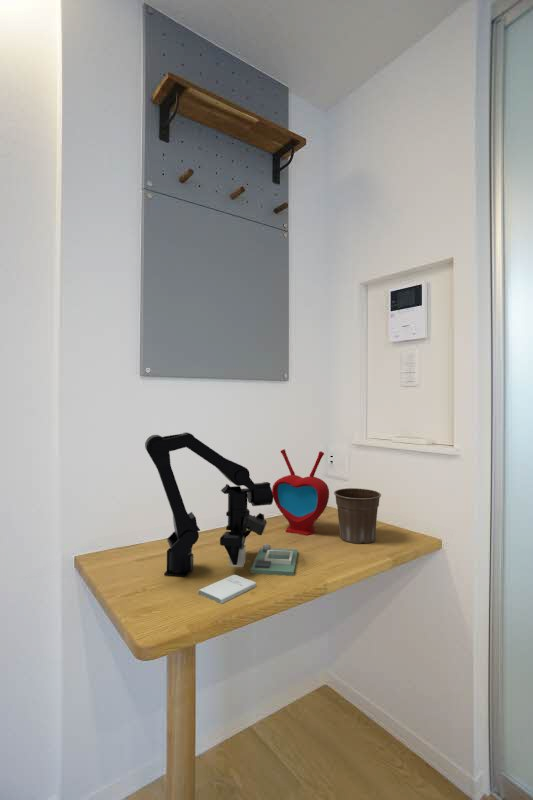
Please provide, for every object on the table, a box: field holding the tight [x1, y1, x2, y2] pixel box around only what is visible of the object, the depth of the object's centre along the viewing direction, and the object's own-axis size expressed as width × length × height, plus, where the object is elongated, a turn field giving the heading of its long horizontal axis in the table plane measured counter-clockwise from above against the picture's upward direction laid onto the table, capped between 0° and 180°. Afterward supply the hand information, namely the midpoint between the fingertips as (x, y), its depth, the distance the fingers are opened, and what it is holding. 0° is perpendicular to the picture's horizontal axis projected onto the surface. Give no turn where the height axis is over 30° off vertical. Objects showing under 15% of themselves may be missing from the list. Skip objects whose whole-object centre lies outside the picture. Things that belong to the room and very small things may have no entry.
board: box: [250, 544, 299, 577], centre depth 123 cm, size 12×18×3 cm, turn 172°
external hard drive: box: [197, 574, 257, 605], centre depth 104 cm, size 2×8×12 cm
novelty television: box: [271, 449, 330, 536], centre depth 155 cm, size 21×13×30 cm, turn 62°
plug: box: [228, 544, 246, 568], centre depth 121 cm, size 4×4×6 cm
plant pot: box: [333, 487, 382, 545], centre depth 145 cm, size 16×16×16 cm
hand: (237, 560), depth 121 cm, fingers open, 6 cm apart
